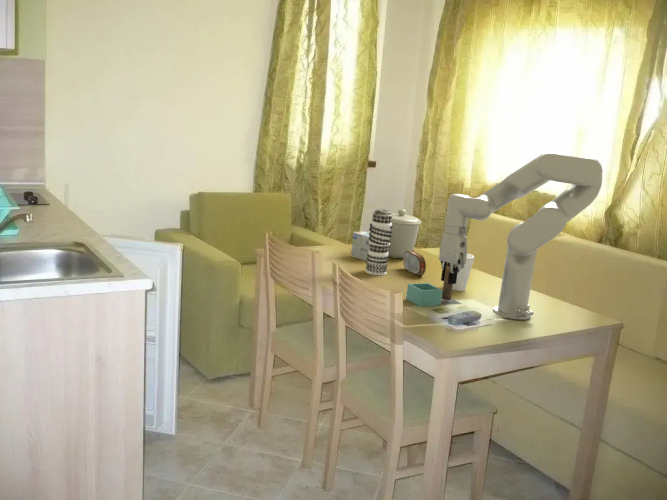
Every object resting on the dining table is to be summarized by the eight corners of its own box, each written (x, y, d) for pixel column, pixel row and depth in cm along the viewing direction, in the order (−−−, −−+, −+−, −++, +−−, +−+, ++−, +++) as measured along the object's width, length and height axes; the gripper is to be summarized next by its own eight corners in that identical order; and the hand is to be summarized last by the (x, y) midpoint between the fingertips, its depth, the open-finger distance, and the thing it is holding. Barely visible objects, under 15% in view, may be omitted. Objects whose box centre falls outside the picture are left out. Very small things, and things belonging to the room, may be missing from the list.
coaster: (461, 305, 241) (461, 303, 241) (442, 306, 238) (442, 304, 237) (448, 298, 248) (448, 296, 248) (429, 299, 244) (429, 297, 244)
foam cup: (469, 293, 258) (474, 259, 255) (444, 289, 259) (448, 255, 257) (469, 287, 267) (474, 254, 264) (445, 283, 268) (449, 250, 266)
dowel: (452, 299, 242) (457, 266, 239) (445, 300, 240) (449, 266, 238) (447, 297, 245) (451, 264, 242) (439, 297, 243) (444, 264, 241)
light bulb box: (379, 260, 296) (381, 235, 294) (368, 262, 291) (370, 237, 289) (361, 254, 303) (363, 230, 301) (350, 256, 299) (352, 231, 296)
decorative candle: (375, 268, 282) (381, 207, 276) (392, 274, 275) (399, 211, 270) (359, 270, 275) (366, 208, 270) (377, 276, 269) (384, 212, 263)
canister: (397, 262, 296) (403, 213, 291) (367, 252, 308) (373, 206, 304) (425, 258, 308) (431, 212, 303) (395, 249, 321) (400, 204, 316)
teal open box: (439, 306, 237) (442, 289, 236) (419, 308, 233) (421, 290, 232) (426, 299, 244) (428, 283, 243) (405, 300, 240) (407, 283, 239)
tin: (425, 277, 275) (427, 257, 273) (418, 277, 273) (420, 257, 272) (407, 268, 288) (410, 248, 286) (400, 268, 287) (403, 248, 285)
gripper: (479, 235, 232) (471, 288, 236) (450, 225, 246) (443, 275, 250) (461, 235, 228) (453, 289, 232) (432, 225, 243) (426, 276, 247)
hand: (448, 281), depth 241 cm, fingers closed on dowel, 3 cm apart
